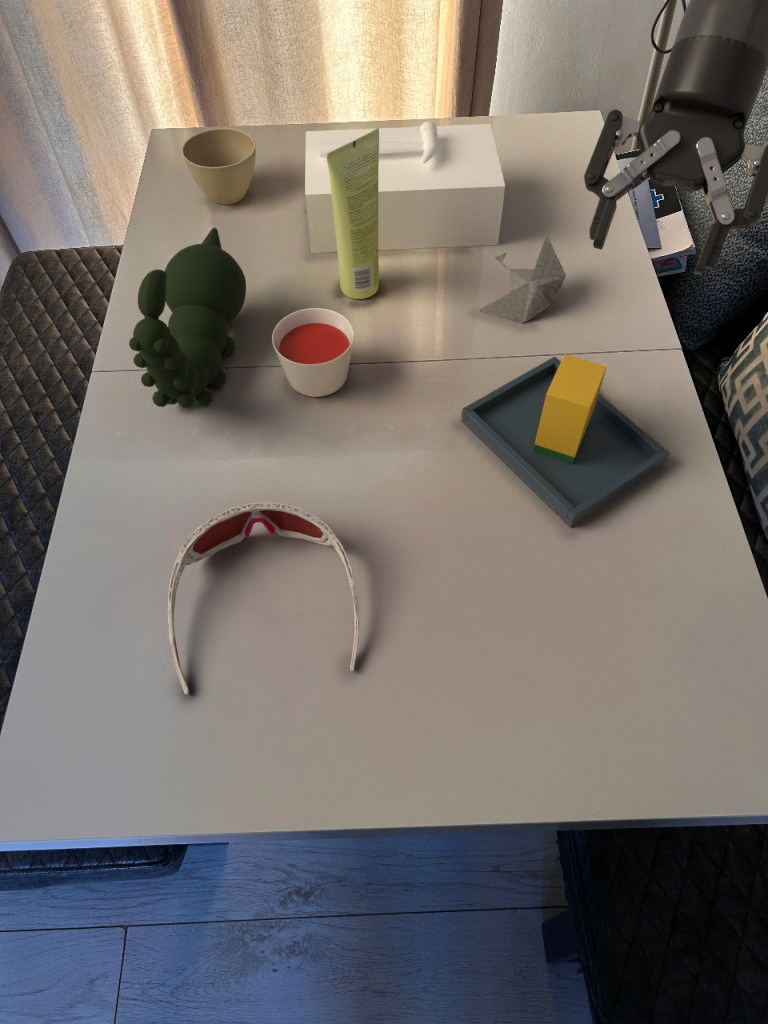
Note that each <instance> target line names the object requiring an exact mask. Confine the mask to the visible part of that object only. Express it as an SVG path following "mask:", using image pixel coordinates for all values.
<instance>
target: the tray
mask: <svg viewBox="0 0 768 1024" xmlns="http://www.w3.org/2000/svg"><path fill="white" fill-rule="evenodd" d="M561 361H562V360H560V359H558V358H557V357H556V356H553V357H551V358H549V359H547V360H546V361H544V362H542V363H540V364H539V365H537V366H535V367H533V368H531V369H530V370H528V371H526V372H524V373H523V374H521V375H519V376H517V377H515V378H514V379H512V380H511V381H509V382H506V383H505V384H504V385H502V386H500V387H498V388H497V389H494V390H493V391H491V392H489V393H487V394H486V395H483V396H482V397H480V398H479V399H476V400H475V401H473V402H472V403H470V404H468V405H466V406H465V407H462V410H461V418H460V419H461V420H460V421H461V423H463V424H464V426H466V427H467V428H468V429H469V430H470V431H471V432H472V433H473V434H474V435H475V436H476V437H477V438H478V439H479V440H480V441H481V442H482V443H483V444H484V446H486V447H487V448H488V449H489V450H490V451H491V452H492V453H493V454H494V455H495V456H496V457H497V458H498V459H499V460H500V461H501V462H502V463H503V464H505V466H506V467H507V468H508V469H509V470H511V471H512V473H514V474H515V476H516V477H517V478H519V479H520V480H521V481H522V482H523V483H524V484H525V485H526V486H527V487H528V488H529V489H530V490H531V491H532V492H533V493H534V494H535V495H536V497H538V499H540V500H541V501H542V502H543V503H544V504H545V505H546V506H547V507H548V508H549V509H551V511H552V512H554V514H555V515H556V516H558V517H559V519H560V520H562V521H563V523H565V524H566V525H567V526H568V527H569V528H570V529H571V528H573V527H574V526H576V525H577V524H579V523H580V522H582V521H583V520H585V519H586V518H588V517H589V516H591V515H592V514H593V513H595V512H597V511H598V510H599V509H601V508H603V507H604V506H606V505H607V504H609V503H610V502H612V501H613V500H615V499H616V498H618V497H620V495H622V494H623V493H625V492H626V491H628V490H630V489H631V488H632V487H634V486H636V485H637V484H639V483H640V482H642V481H643V480H645V479H646V478H647V477H649V476H650V475H652V474H653V473H655V472H656V471H658V470H660V469H662V468H663V467H664V466H665V465H666V464H667V463H666V462H667V461H668V459H669V457H670V454H671V453H670V452H669V451H668V450H667V449H666V448H665V447H663V446H662V445H661V444H660V443H659V442H657V441H656V440H655V439H654V438H652V436H651V435H649V434H648V433H647V432H645V430H643V429H642V428H641V427H640V426H638V424H636V423H635V422H634V421H633V420H632V419H630V418H629V417H627V415H625V414H624V413H623V412H622V411H621V410H619V409H618V408H617V407H616V406H614V404H613V403H611V402H610V401H609V400H607V399H606V398H605V397H604V396H603V395H601V393H599V394H598V397H597V400H596V403H595V406H594V409H593V413H592V416H591V419H590V422H589V425H588V428H587V430H586V433H585V435H584V438H583V440H582V443H581V445H580V448H579V450H578V453H577V455H576V458H575V460H574V463H573V464H569V463H566V462H563V461H560V460H557V459H554V458H551V457H548V456H545V455H542V454H539V453H536V452H533V449H534V445H535V441H536V437H537V432H538V428H539V424H540V420H541V415H542V411H543V407H544V403H545V398H546V394H547V392H548V390H549V387H550V385H551V383H552V381H553V379H554V376H555V374H556V372H557V370H558V367H559V365H560V363H561Z"/></svg>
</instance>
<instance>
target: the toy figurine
mask: <svg viewBox="0 0 768 1024" xmlns="http://www.w3.org/2000/svg"><path fill="white" fill-rule="evenodd" d="M220 239H221V238H220V235H219V230H218V229H217V228H216V227H212V228H211V229H210V230H209V232H208V234H207V235H206V237H205V238H204V239H203V241H202V243H196V244H191V245H187V246H186V247H184V248H182V249H180V250H179V251H178V252H176V254H174V255H173V257H172V258H170V259H169V261H168V263H167V264H166V267H165V270H162V269H158V268H157V269H153V270H151V271H149V272H148V273H147V274H146V275H145V276H144V277H143V278H142V280H141V283H140V286H139V288H138V293H137V307H138V309H139V312H140V313H141V314H142V315H143V318H142V319H140V320H139V321H138V322H137V323H136V324H135V326H134V327H133V332H132V336H133V337H131V338H130V339H129V341H128V346H129V348H130V349H131V350H132V351H135V352H138V353H136V354H135V355H134V357H133V364H134V365H135V366H136V367H137V368H140V369H146V371H147V372H144V373H143V374H142V375H141V378H140V382H141V384H142V385H143V386H144V387H146V388H147V387H148V388H151V387H154V386H155V388H156V389H157V391H155V392H153V395H152V398H151V400H152V402H153V404H154V405H155V406H157V407H159V408H165V407H166V406H167V405H172V406H173V405H177V404H178V405H179V406H180V407H181V408H182V409H189V408H191V407H193V406H194V404H195V403H196V405H198V406H200V407H205V408H207V407H210V405H212V403H213V402H214V401H213V400H214V394H213V392H212V391H211V390H209V389H208V388H207V387H208V385H210V384H211V385H213V386H216V387H220V386H223V385H224V384H225V383H226V382H227V378H228V377H227V376H228V375H227V373H226V371H225V369H224V368H222V363H223V362H222V358H223V357H224V358H230V357H233V355H234V353H235V352H236V349H237V345H236V344H237V343H236V340H234V338H233V337H231V336H230V329H229V328H230V327H229V324H230V323H231V322H232V321H233V320H235V318H236V317H238V315H239V314H240V312H241V310H242V309H243V306H244V303H245V300H246V295H247V294H246V293H247V280H246V277H245V273H244V272H243V270H242V267H241V266H240V265H239V263H238V261H237V260H236V259H235V258H234V257H233V256H232V255H231V254H230V253H229V252H227V251H226V250H224V249H223V247H222V243H221V240H220ZM166 306H167V307H168V309H169V310H170V312H171V314H170V316H169V319H168V325H167V324H166V323H165V322H164V321H163V320H162V319H160V317H161V316H162V314H163V313H164V310H165V308H166Z"/></svg>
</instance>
